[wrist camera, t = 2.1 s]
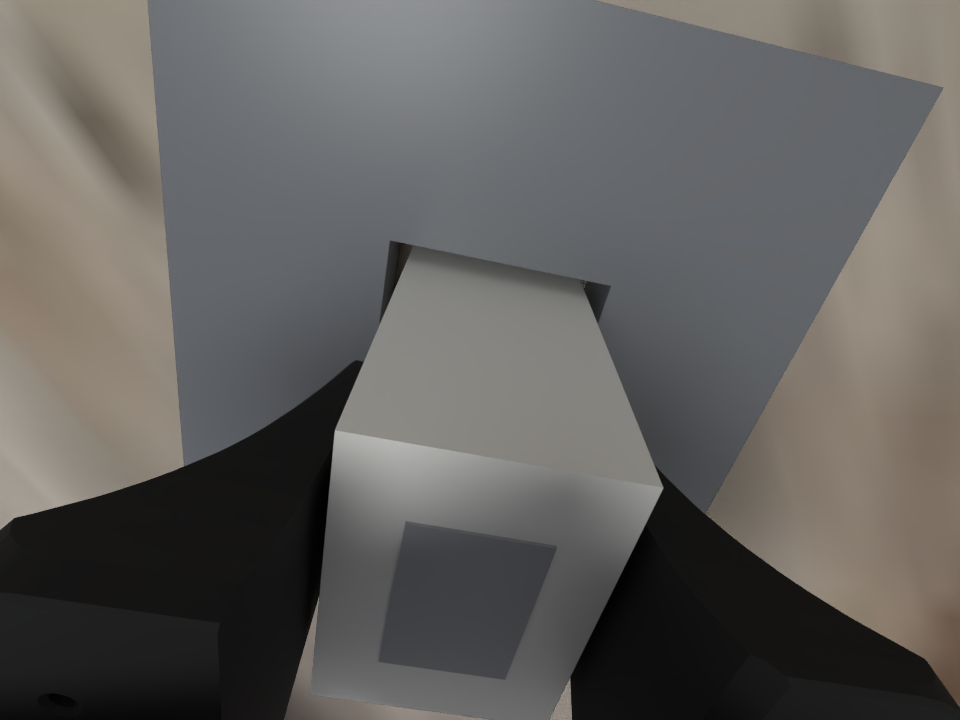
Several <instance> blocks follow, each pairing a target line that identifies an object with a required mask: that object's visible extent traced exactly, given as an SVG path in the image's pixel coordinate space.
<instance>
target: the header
mask: <svg viewBox="0 0 960 720" xmlns="http://www.w3.org/2000/svg"><path fill="white" fill-rule="evenodd" d="M148 12H149V25H150V38H151V50H152V63H153V76H154V89H155V101H156V114H157V127H158V140H159V152H160V165H161V178H162V191H163V204H164V216H165V229H166V242H167V255H168V267H169V280H170V293H171V306H172V318H173V331H174V344H175V357H176V370H177V382H178V395H179V408H180V421H181V433H182V446H183V459H184V466H186V465H189V464H191V463H193V462H196V461H198V460H200V459H203V458H205V457H207V456H210V455H212V454H214V453H217V452H219V451H221V450H223V449H225V448H227V447H230V446H231V445H233V444H235V443H237V442H239V441H241V440H243V439H245V438H247V437H249V436H250V435H252V434H254V433H256V432H257V431H259V430H261V429H262V428H264V427H266V426H267V425H269V424H270V423H272V422H273V421H275V420H276V419H278V418H280V417H281V416H283V415H284V414H286V413H287V412H289V411H290V410H292V409H293V408H295V407H296V406H297V405H299V404H300V403H302V402H303V401H304V400H306V399H307V398H308V397H310V396H311V395H312V394H314V393H315V392H316V391H318V390H319V389H320V388H321V387H323V386H324V385H325V384H326V383H328V382H329V381H330V380H331V379H333V378H334V377H335V376H336V375H337V374H339V373H340V372H341V371H342V370H343V369H344V368H346V367H347V366H348V365H349V364H350V363H352V362H354V361H355V360H358V361H364V360H365V358H366V356H367V353H368V351H369V349H370V346H371V344H372V342H373V339H374V337H375V335H376V332H377V330H378V328H379V325H380V323H381V321H382V318H383V316H384V314H385V311H386V309H387V306H388V304H389V302H390V299H391V297H392V295H393V290H394V283H395V275H396V268H397V261H398V253H399V246H400V243H405V244H410V245H415V246H420V247H425V248H429V249H434V250H439V251H444V252H449V253H454V254H458V255H463V256H468V257H473V258H478V259H483V260H488V261H492V262H497V263H502V264H507V265H512V266H517V267H522V268H526V269H531V270H536V271H541V272H546V273H551V274H555V275H560V276H565V277H570V278H575V279H580V280H585V281H588V282H587V285H586V288H585V294H586V296H587V299H588V301H589V304H590V306H591V309H592V311H593V314H594V316H595V319H596V321H597V324H598V326H599V329H600V331H601V334H602V336H603V339H604V341H605V344H606V346H607V349H608V351H609V354H610V356H611V358H612V361H613V363H614V366H615V368H616V371H617V373H618V376H619V378H620V381H621V383H622V386H623V388H624V391H625V393H626V396H627V398H628V401H629V403H630V406H631V408H632V411H633V413H634V416H635V418H636V421H637V423H638V426H639V428H640V431H641V433H642V436H643V438H644V441H645V443H646V446H647V448H648V451H649V453H650V456H651V458H652V461H653V463H654V465H655V466H656V467H657V468H658V469H659V470H660V471H661V472H662V473H663V474H664V475H665V476H666V477H667V478H668V479H669V480H670V481H671V482H672V483H673V484H674V485H675V486H676V487H677V488H678V489H679V490H680V491H681V492H682V493H683V494H684V495H685V496H686V497H687V498H688V499H689V500H690V501H691V502H692V503H693V504H694V505H695V506H697V507H698V508H699V509H700V510H701V511H702V512H703V513H704V514H705V513H706V512H707V510H708V508H709V506H710V504H711V503H712V501H713V499H714V497H715V495H716V494H717V492H718V490H719V488H720V486H721V485H722V483H723V481H724V479H725V478H726V476H727V474H728V472H729V470H730V469H731V467H732V465H733V463H734V461H735V460H736V458H737V456H738V454H739V453H740V451H741V449H742V447H743V445H744V444H745V442H746V440H747V438H748V436H749V435H750V433H751V431H752V429H753V427H754V426H755V424H756V422H757V420H758V419H759V417H760V415H761V413H762V411H763V410H764V408H765V406H766V404H767V402H768V401H769V399H770V397H771V395H772V394H773V392H774V390H775V388H776V386H777V385H778V383H779V381H780V379H781V377H782V376H783V374H784V372H785V370H786V369H787V367H788V365H789V363H790V361H791V360H792V358H793V356H794V354H795V352H796V351H797V349H798V347H799V345H800V343H801V342H802V340H803V338H804V336H805V335H806V333H807V331H808V329H809V327H810V326H811V324H812V322H813V320H814V318H815V317H816V315H817V313H818V311H819V310H820V308H821V306H822V304H823V302H824V301H825V299H826V297H827V295H828V293H829V292H830V290H831V288H832V286H833V285H834V283H835V281H836V279H837V277H838V276H839V274H840V272H841V270H842V268H843V267H844V265H845V263H846V261H847V259H848V258H849V256H850V254H851V252H852V251H853V249H854V247H855V245H856V243H857V242H858V240H859V238H860V236H861V234H862V233H863V231H864V229H865V227H866V226H867V224H868V222H869V220H870V218H871V217H872V215H873V213H874V211H875V209H876V208H877V206H878V204H879V202H880V201H881V199H882V197H883V195H884V193H885V192H886V190H887V188H888V186H889V184H890V183H891V181H892V179H893V177H894V175H895V174H896V172H897V170H898V168H899V167H900V165H901V163H902V161H903V159H904V158H905V156H906V154H907V152H908V150H909V149H910V147H911V145H912V143H913V142H914V140H915V138H916V136H917V134H918V133H919V131H920V129H921V127H922V125H923V124H924V122H925V120H926V118H927V116H928V115H929V113H930V111H931V109H932V108H933V106H934V104H935V102H936V100H937V99H938V97H939V95H940V93H941V91H942V90H943V87H939V86H935V85H931V84H927V83H923V82H919V81H915V80H911V79H907V78H903V77H899V76H895V75H891V74H887V73H883V72H879V71H875V70H871V69H867V68H863V67H859V66H855V65H851V64H847V63H843V62H839V61H835V60H831V59H827V58H823V57H819V56H815V55H811V54H807V53H803V52H799V51H795V50H791V49H787V48H783V47H779V46H775V45H771V44H767V43H763V42H759V41H755V40H751V39H747V38H743V37H739V36H735V35H731V34H727V33H723V32H719V31H715V30H711V29H707V28H703V27H699V26H695V25H691V24H687V23H683V22H679V21H675V20H671V19H668V18H664V17H660V16H656V15H652V14H648V13H644V12H640V11H636V10H632V9H628V8H624V7H620V6H616V5H612V4H608V3H604V2H600V1H596V0H148Z"/></svg>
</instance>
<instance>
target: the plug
mask: <svg viewBox="0 0 960 720" xmlns="http://www.w3.org/2000/svg"><path fill="white" fill-rule="evenodd" d="M662 490H663V486H662V483H661V481H660V478H659V476H658V473H657V471H656V468H655V466H654V463H653V461H652V458H651V456H650V453H649V451H648V448H647V446H646V443H645V441H644V438H643V436H642V433H641V431H640V428H639V426H638V423H637V421H636V418H635V416H634V413H633V411H632V408H631V406H630V403H629V401H628V398H627V396H626V393H625V391H624V388H623V386H622V383H621V381H620V378H619V376H618V373H617V371H616V368H615V366H614V363H613V361H612V358H611V356H610V354H609V351H608V349H607V346H606V344H605V341H604V339H603V336H602V334H601V331H600V329H599V326H598V324H597V321H596V319H595V316H594V314H593V311H592V309H591V306H590V304H589V301H588V299H587V296H586V294H585V291H584V289H583V286H582V284H581V281H580V279H575V278H570V277H565V276H560V275H555V274H551V273H546V272H541V271H536V270H531V269H526V268H522V267H517V266H512V265H507V264H502V263H497V262H492V261H488V260H483V259H478V258H473V257H468V256H463V255H458V254H454V253H449V252H444V251H439V250H434V249H429V248H425V247H420V246H415V245H413V248H412V250H411V252H410V255H409V257H408V259H407V262H406V264H405V267H404V269H403V271H402V274H401V276H400V278H399V281H398V283H397V285H396V288H395V290H394V292H393V295H392V297H391V299H390V302H389V304H388V306H387V309H386V311H385V314H384V316H383V318H382V321H381V323H380V325H379V328H378V330H377V332H376V335H375V337H374V339H373V342H372V344H371V346H370V349H369V351H368V353H367V356H366V358H365V360H364V363H363V365H362V368H361V370H360V372H359V375H358V377H357V379H356V382H355V384H354V386H353V389H352V391H351V393H350V396H349V398H348V400H347V403H346V405H345V407H344V410H343V412H342V415H341V417H340V419H339V422H338V424H337V426H336V429H335V434H334V444H333V455H332V466H331V476H330V487H329V498H328V509H327V519H326V530H325V541H324V551H323V562H322V573H321V584H320V594H319V605H318V616H317V627H316V637H315V648H314V659H313V669H312V680H311V691H310V695H314V696H321V697H329V698H336V699H344V700H351V701H358V702H366V703H373V704H381V705H388V706H395V707H403V708H410V709H418V710H425V711H432V712H440V713H447V714H455V715H462V716H469V717H477V718H484V719H492V720H549V719H550V717H551V715H552V713H553V711H554V709H555V707H556V705H557V703H558V701H559V699H560V697H561V695H562V693H563V691H564V689H565V687H566V685H567V683H568V681H569V679H570V676H571V674H572V672H573V670H574V668H575V666H576V664H577V662H578V660H579V658H580V656H581V654H582V652H583V650H584V648H585V646H586V644H587V642H588V640H589V638H590V636H591V634H592V632H593V630H594V628H595V626H596V624H597V622H598V620H599V618H600V616H601V614H602V612H603V610H604V608H605V606H606V604H607V602H608V599H609V597H610V595H611V593H612V591H613V589H614V587H615V585H616V583H617V581H618V579H619V577H620V575H621V573H622V571H623V569H624V567H625V565H626V563H627V561H628V559H629V557H630V555H631V553H632V551H633V549H634V547H635V545H636V543H637V541H638V539H639V537H640V535H641V533H642V531H643V529H644V527H645V525H646V522H647V520H648V518H649V516H650V514H651V512H652V510H653V508H654V506H655V504H656V502H657V500H658V498H659V496H660V494H661V492H662Z"/></svg>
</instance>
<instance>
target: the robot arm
mask: <svg viewBox="0 0 960 720" xmlns="http://www.w3.org/2000/svg"><path fill="white" fill-rule="evenodd" d="M363 363H364V361H358V360H355V361H354V362H352V363H350V364H349V365H348V366H347V367H346V368H344V369H343V370H342V371H341V372H340V373H339V374H337V375H336V376H335V377H334V378H333V379H331V380H330V381H329V382H328V383H326V384H325V385H324V386H323V387H321V388H320V389H319V390H318V391H316V392H315V393H314V394H312V395H311V396H310V397H308V398H307V399H306V400H304V401H303V402H302V403H300V404H299V405H297V406H296V407H295V408H293V409H292V410H290V411H289V412H287V413H286V414H284V415H283V416H281V417H280V418H278V419H276V420H275V421H273V422H272V423H270V424H269V425H267V426H266V427H264V428H262V429H261V430H259V431H257V432H256V433H254V434H252V435H250V436H249V437H247V438H245V439H243V440H241V441H239V442H237V443H235V444H233V445H231V446H230V447H227V448H225V449H223V450H221V451H219V452H217V453H214V454H212V455H210V456H207V457H205V458H203V459H200V460H198V461H196V462H193V463H191V464H189V465H186V466H184V467H182V468H179V469H177V470H175V471H172V472H170V473H167V474H164V475H161V476H159V477H156V478H153V479H150V480H148V481H145V482H142V483H139V484H136V485H133V486H130V487H127V488H124V489H121V490H117V491H114V492H111V493H108V494H105V495H101V496H98V497H95V498H91V499H87V500H83V501H80V502H76V503H72V504H68V505H64V506H61V507H57V508H53V509H49V510H45V511H42V512H38V513H34V514H30V515H26V516H21V517H17V518H14V519H13V520H12V521H10V522H9V523H8V524H7V525H6V526H5V527H3V528H2V529H1V530H0V720H284V717H285V713H286V710H287V706H288V702H289V699H290V695H291V692H292V688H293V685H294V681H295V678H296V674H297V671H298V667H299V663H300V660H301V656H302V653H303V649H304V646H305V642H306V639H307V635H308V632H309V629H310V625H311V622H312V618H313V615H314V611H315V608H316V605H317V601H318V598H319V594H320V584H321V573H322V562H323V551H324V541H325V530H326V519H327V509H328V498H329V487H330V476H331V466H332V455H333V444H334V434H335V429H336V426H337V424H338V422H339V419H340V417H341V415H342V412H343V410H344V407H345V405H346V403H347V400H348V398H349V396H350V393H351V391H352V389H353V386H354V384H355V382H356V379H357V377H358V375H359V372H360V370H361V368H362V365H363ZM654 466H655V465H654ZM655 468H656V471H657V473H658V476H659V478H660V481H661V483H662V486H663V490H662V492H661V494H660V496H659V498H658V500H657V502H656V504H655V506H654V508H653V510H652V512H651V514H650V516H649V518H648V520H647V522H646V525H645V527H644V529H643V531H642V533H641V535H640V537H639V539H638V541H637V543H636V545H635V547H634V549H633V551H632V553H631V555H630V557H629V559H628V561H627V563H626V565H625V567H624V569H623V571H622V573H621V575H620V577H619V579H618V581H617V583H616V585H615V587H614V589H613V591H612V593H611V595H610V597H609V599H608V602H607V604H606V606H605V608H604V610H603V612H602V614H601V616H600V618H599V620H598V622H597V624H596V626H595V628H594V630H593V632H592V634H591V636H590V638H589V640H588V642H587V644H586V646H585V648H584V650H583V652H582V654H581V656H580V658H579V660H578V662H577V664H576V666H575V668H574V670H573V672H572V674H571V676H570V679H571V703H572V720H960V707H959V706H958V705H957V703H956V702H955V700H954V699H953V697H952V696H951V695H950V693H949V692H948V690H947V689H946V688H945V686H944V685H943V683H942V682H941V681H940V679H939V678H938V676H937V675H936V673H935V672H934V671H933V669H932V668H931V666H930V665H929V664H928V662H927V661H926V660H925V659H924V658H922V657H920V656H918V655H917V654H915V653H913V652H911V651H909V650H908V649H906V648H904V647H902V646H900V645H899V644H897V643H895V642H893V641H891V640H890V639H888V638H886V637H884V636H882V635H880V634H879V633H877V632H875V631H873V630H871V629H870V628H868V627H866V626H864V625H862V624H861V623H859V622H857V621H855V620H853V619H852V618H850V617H848V616H847V615H845V614H843V613H842V612H840V611H839V610H837V609H835V608H834V607H832V606H831V605H829V604H827V603H826V602H824V601H823V600H821V599H819V598H818V597H816V596H815V595H813V594H811V593H810V592H808V591H807V590H805V589H804V588H802V587H801V586H799V585H798V584H796V583H795V582H793V581H792V580H790V579H789V578H787V577H786V576H784V575H783V574H781V573H780V572H778V571H777V570H776V569H774V568H773V567H772V566H770V565H769V564H767V563H766V562H765V561H763V560H762V559H761V558H759V557H758V556H756V555H755V554H754V553H752V552H751V551H750V550H748V549H747V548H746V547H744V546H743V545H742V544H740V543H739V542H738V541H737V540H735V539H734V538H733V537H732V536H730V535H729V534H728V533H727V532H726V531H724V530H723V529H722V528H721V527H720V526H718V525H717V524H716V523H715V522H714V521H713V520H711V519H710V518H709V517H708V516H707V515H705V514H704V513H703V512H702V511H701V510H700V509H699V508H698V507H697V506H695V505H694V504H693V503H692V502H691V501H690V500H689V499H688V498H687V497H686V496H685V495H684V494H683V493H682V492H681V491H680V490H679V489H678V488H677V487H676V486H675V485H674V484H673V483H672V482H671V481H670V480H669V479H668V478H667V477H666V476H665V475H664V474H663V473H662V472H661V471H660V470H659V469H658V468H657V467H656V466H655Z"/></svg>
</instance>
